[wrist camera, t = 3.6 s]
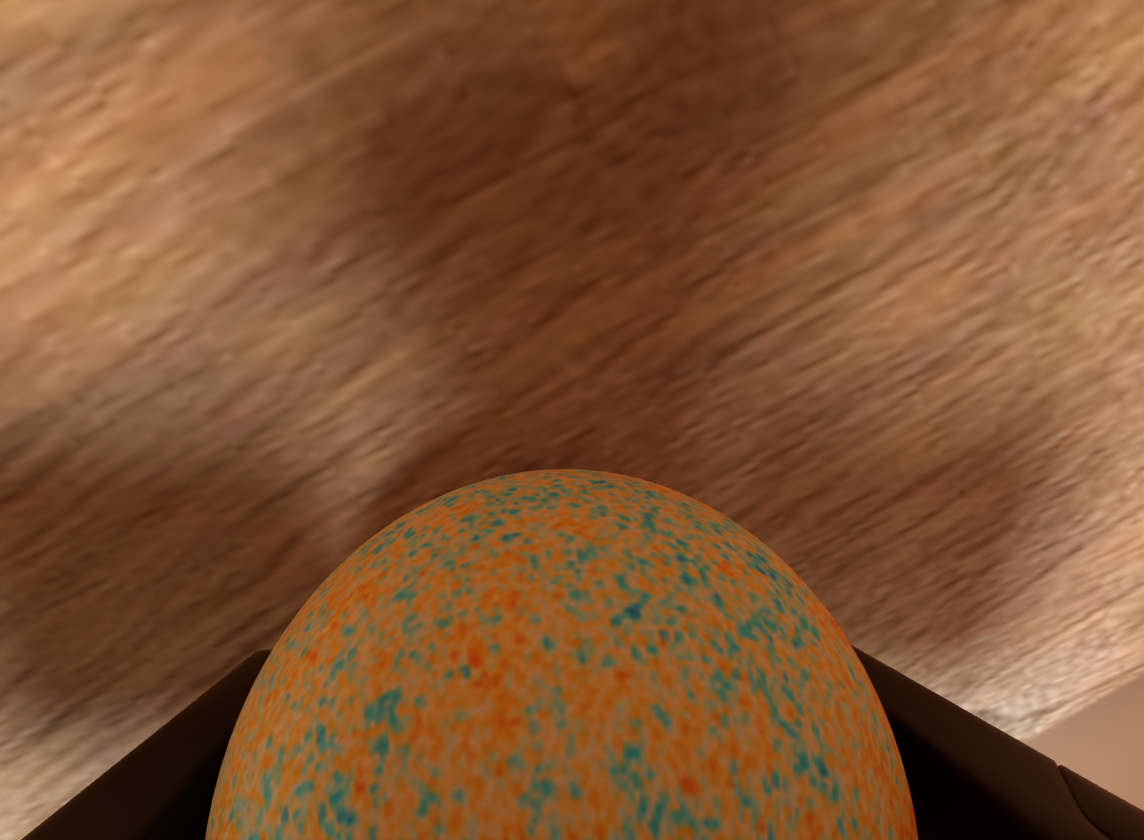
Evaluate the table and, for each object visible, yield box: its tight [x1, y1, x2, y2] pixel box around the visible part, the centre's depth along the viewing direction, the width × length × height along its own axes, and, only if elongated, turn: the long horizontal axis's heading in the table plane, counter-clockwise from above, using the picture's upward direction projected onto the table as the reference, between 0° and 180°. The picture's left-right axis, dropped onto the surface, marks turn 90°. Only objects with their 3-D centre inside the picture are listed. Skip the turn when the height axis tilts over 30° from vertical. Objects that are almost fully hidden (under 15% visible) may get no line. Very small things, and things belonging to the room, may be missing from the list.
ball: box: [205, 469, 918, 840], centre depth 7 cm, size 7×7×7 cm
